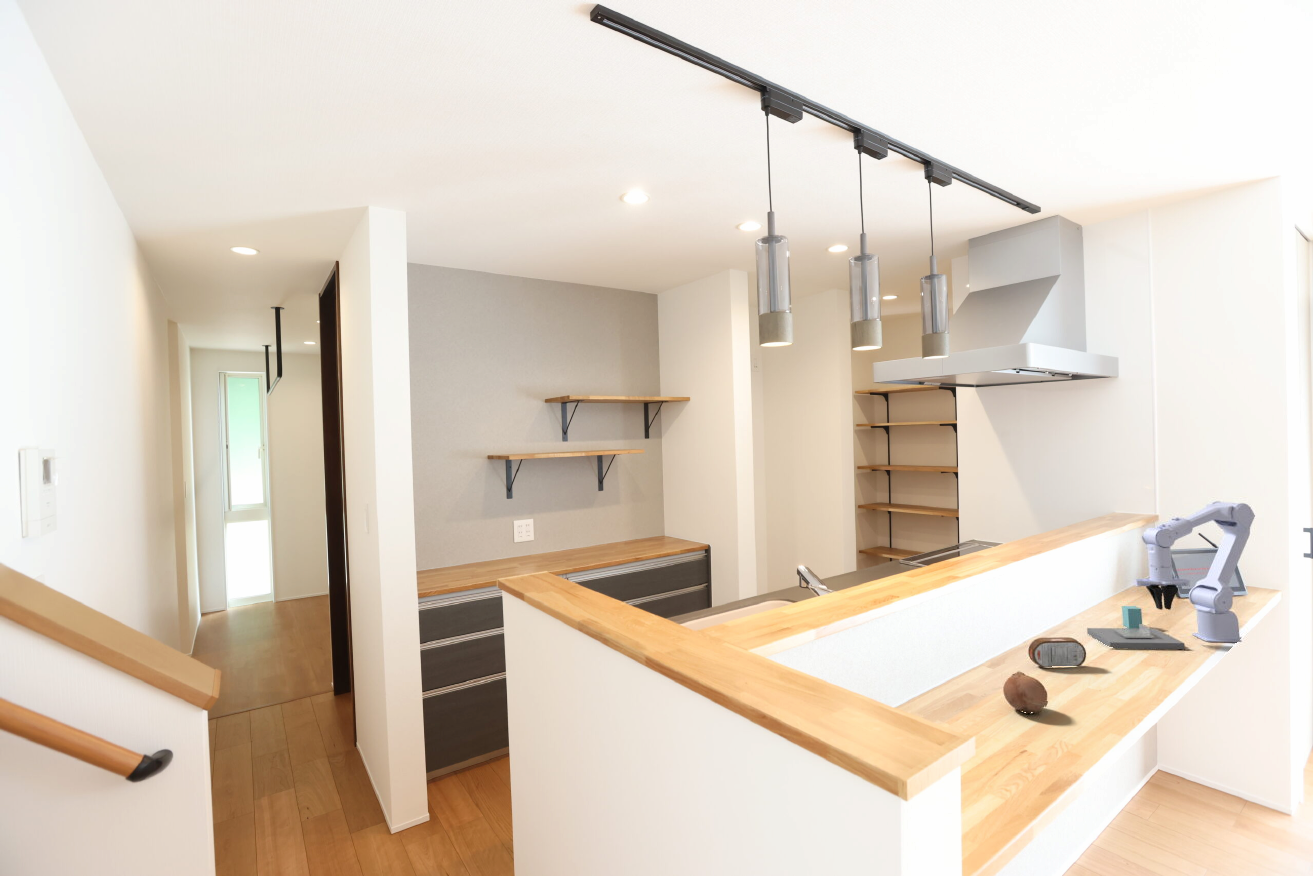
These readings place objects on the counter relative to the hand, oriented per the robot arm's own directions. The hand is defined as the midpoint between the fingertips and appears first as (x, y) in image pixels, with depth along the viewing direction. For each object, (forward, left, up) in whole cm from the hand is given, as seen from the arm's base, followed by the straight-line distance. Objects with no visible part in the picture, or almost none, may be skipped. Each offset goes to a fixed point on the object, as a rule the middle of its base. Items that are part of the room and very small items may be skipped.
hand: (1163, 608), depth 200 cm
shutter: (+9, 0, -8) cm, 12 cm away
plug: (+2, -16, -10) cm, 19 cm away
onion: (+59, +59, -11) cm, 84 cm away
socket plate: (+9, 0, -10) cm, 14 cm away
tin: (+40, +26, -11) cm, 49 cm away
